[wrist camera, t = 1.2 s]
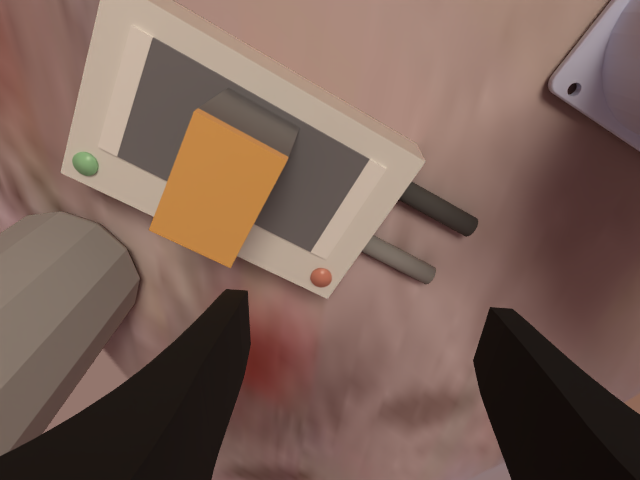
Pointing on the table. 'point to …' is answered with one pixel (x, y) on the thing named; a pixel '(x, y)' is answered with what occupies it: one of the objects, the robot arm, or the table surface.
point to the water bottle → (55, 314)
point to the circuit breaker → (261, 88)
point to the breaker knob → (223, 176)
